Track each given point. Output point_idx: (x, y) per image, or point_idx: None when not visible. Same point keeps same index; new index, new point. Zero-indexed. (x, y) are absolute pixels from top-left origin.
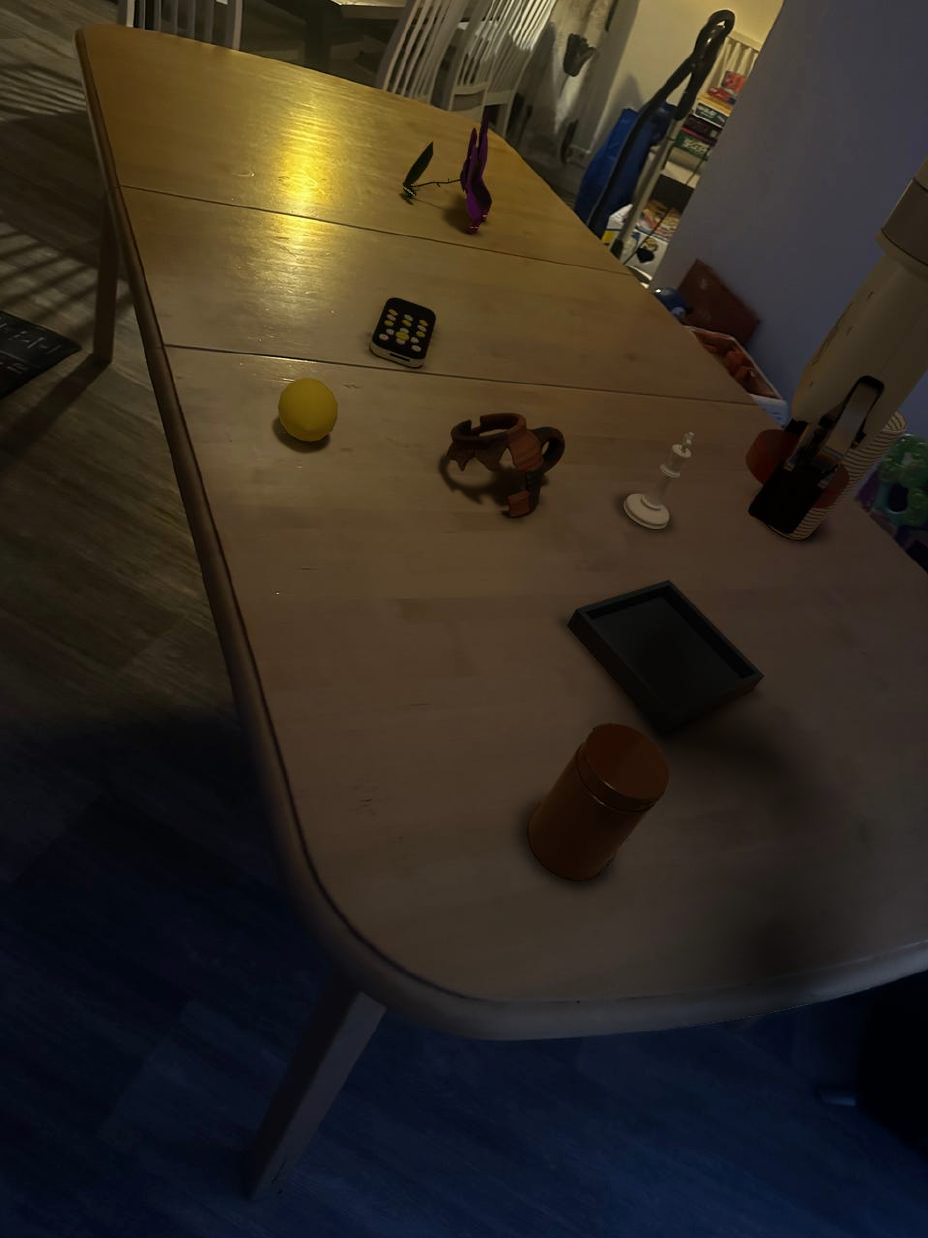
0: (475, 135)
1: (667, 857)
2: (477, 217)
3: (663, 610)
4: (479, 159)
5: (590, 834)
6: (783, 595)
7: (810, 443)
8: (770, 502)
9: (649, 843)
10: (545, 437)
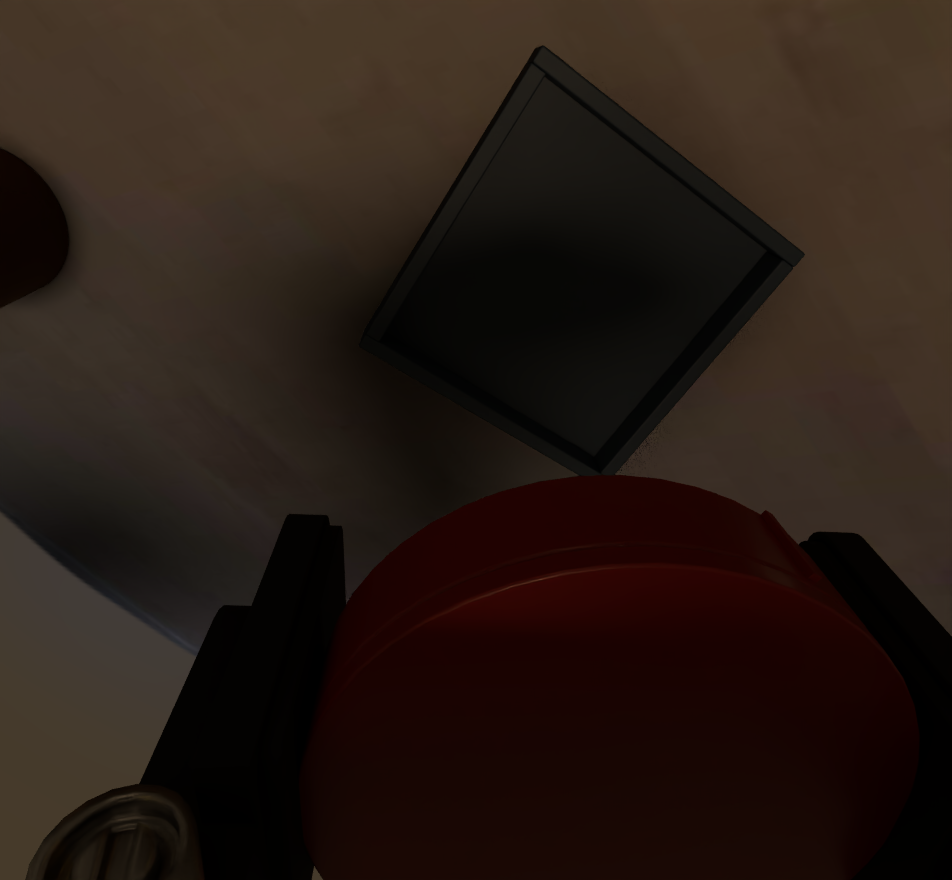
0: None
1: (112, 387)
2: None
3: (718, 263)
4: None
5: None
6: (927, 493)
7: (846, 829)
8: (203, 641)
9: (113, 355)
10: None
